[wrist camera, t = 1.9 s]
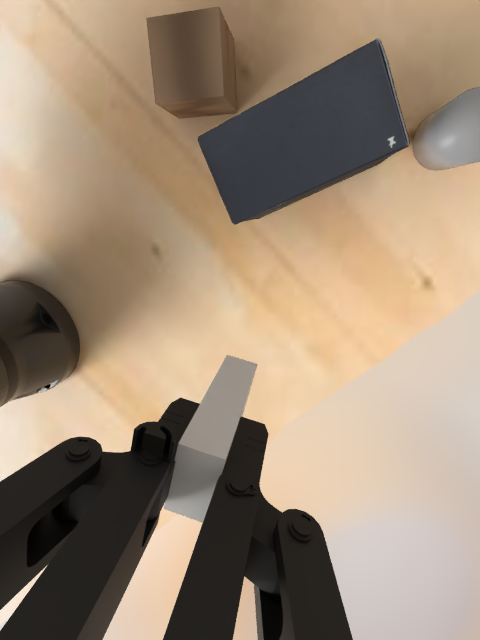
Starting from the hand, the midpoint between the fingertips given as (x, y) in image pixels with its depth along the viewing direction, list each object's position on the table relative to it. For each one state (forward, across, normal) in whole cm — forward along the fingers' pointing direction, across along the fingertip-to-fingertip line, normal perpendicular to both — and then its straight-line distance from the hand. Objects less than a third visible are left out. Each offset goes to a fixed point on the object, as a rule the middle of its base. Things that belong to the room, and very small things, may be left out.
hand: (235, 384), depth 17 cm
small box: (+24, -1, +12) cm, 27 cm away
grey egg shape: (+24, +11, +17) cm, 31 cm away
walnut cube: (+24, -12, +17) cm, 32 cm away
